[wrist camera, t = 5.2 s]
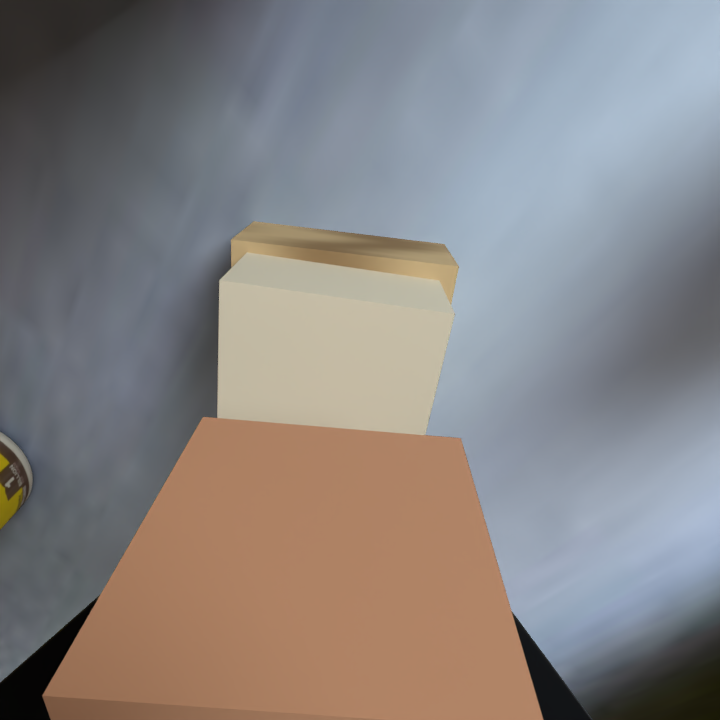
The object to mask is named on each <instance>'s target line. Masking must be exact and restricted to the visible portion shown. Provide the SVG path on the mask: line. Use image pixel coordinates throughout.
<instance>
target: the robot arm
mask: <svg viewBox="0 0 720 720" xmlns="http://www.w3.org/2000/svg"><path fill="white" fill-rule="evenodd" d="M99 596H100V595H99ZM99 596H98V597H97V598H96V599H95V600H94V601H93V602H92V603H90V604H89V605H88V606H87V607H86V608H85V609H84V610H82V611H81V612H80V613H79V614H78V615H77V616H76V617H74V618H73V619H72V620H71V621H70V622H69V623H68V624H66V625H65V626H64V627H63V628H62V629H61V630H60V631H59V632H57V633H56V634H55V635H54V636H53V637H52V638H51V639H49V640H48V641H47V642H46V643H45V644H44V645H43V646H41V647H40V648H39V649H38V650H37V651H36V652H35V653H33V654H32V655H31V656H30V657H29V658H28V659H27V660H26V661H24V662H23V663H22V664H21V665H20V666H19V667H18V668H16V669H15V670H14V671H13V672H12V673H11V674H10V675H8V676H7V677H6V678H5V679H4V680H3V681H2V682H0V720H51V719H50V716H49V713H48V711H47V708H46V705H45V702H44V699H43V696H42V695H43V694H44V692H45V690H46V688H47V687H48V685H49V683H50V681H51V680H52V678H53V676H54V674H55V673H56V671H57V669H58V668H59V666H60V664H61V662H62V661H63V659H64V657H65V655H66V654H67V652H68V650H69V648H70V647H71V645H72V643H73V642H74V640H75V638H76V636H77V635H78V633H79V631H80V629H81V628H82V626H83V624H84V622H85V621H86V619H87V617H88V615H89V614H90V612H91V610H92V609H93V607H94V605H95V603H96V602H97V600H98V598H99ZM512 615H513V618H514V621H515V625H516V628H517V632H518V635H519V638H520V642H521V645H522V649H523V652H524V655H525V659H526V662H527V666H528V669H529V673H530V676H531V679H532V683H533V686H534V690H535V693H536V696H537V700H538V703H539V707H540V710H541V713H542V717H543V720H592V719H591V717H590V716H589V715H588V713H587V712H586V711H585V709H584V708H583V706H582V705H581V704H580V702H579V701H578V700H577V698H576V697H575V696H574V694H573V693H572V692H571V690H570V689H569V688H568V686H567V685H566V684H565V682H564V681H563V680H562V678H561V677H560V676H559V674H558V673H557V671H556V670H555V669H554V667H553V666H552V665H551V663H550V662H549V661H548V659H547V658H546V657H545V655H544V654H543V653H542V651H541V650H540V649H539V647H538V646H537V645H536V643H535V642H534V641H533V639H532V638H531V636H530V635H529V634H528V632H527V631H526V630H525V628H524V627H523V626H522V624H521V623H520V622H519V620H518V619H517V618H516V616H515V615H514V614H513V612H512Z"/></svg>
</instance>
